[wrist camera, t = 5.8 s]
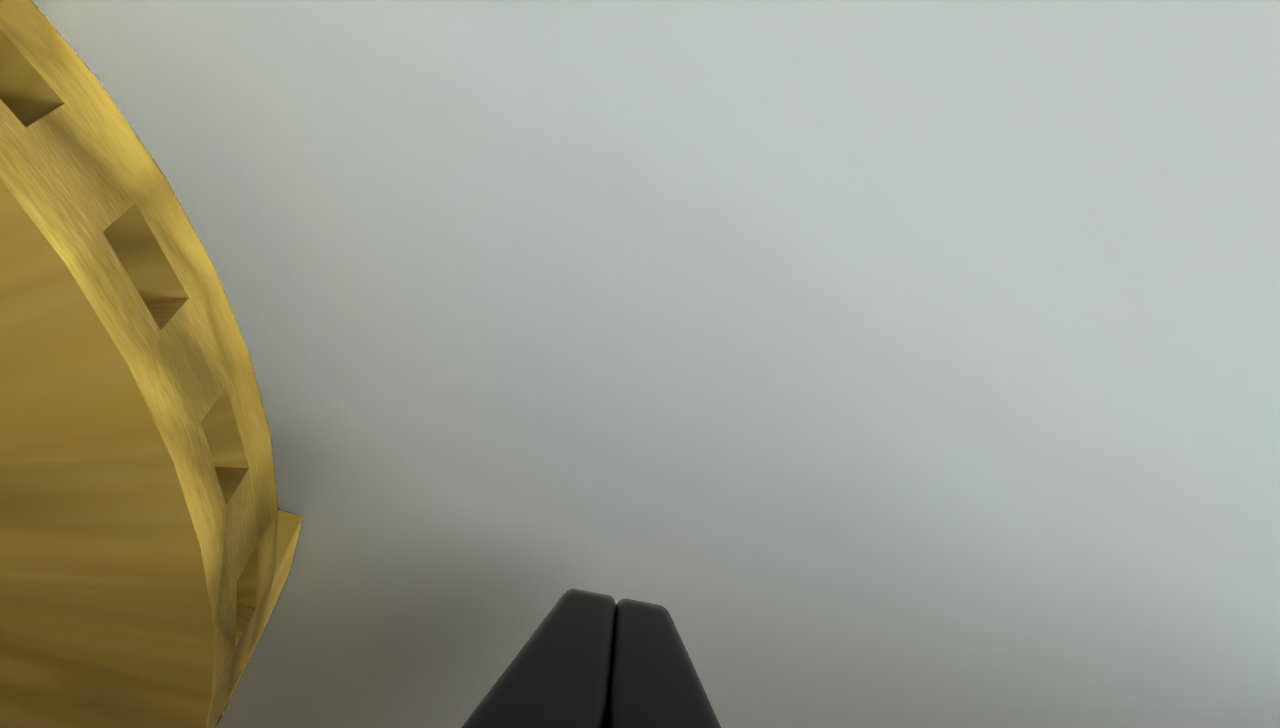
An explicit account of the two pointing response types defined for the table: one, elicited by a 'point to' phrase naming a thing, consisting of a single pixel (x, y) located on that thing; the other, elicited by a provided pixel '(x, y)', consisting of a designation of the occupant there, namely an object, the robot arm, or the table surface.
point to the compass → (118, 423)
